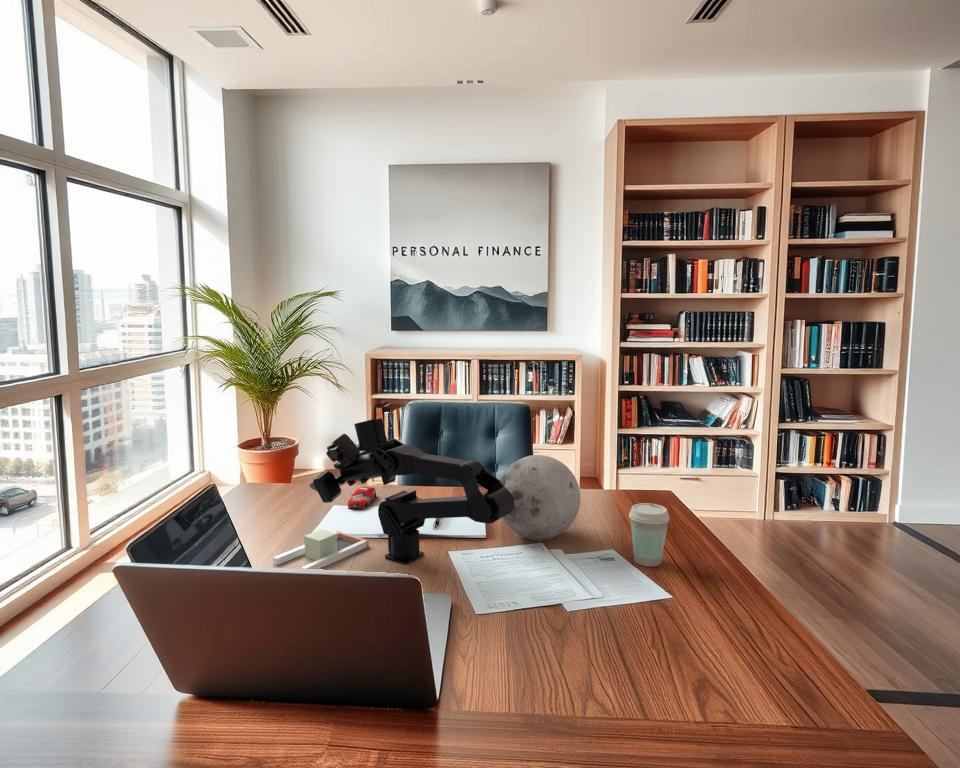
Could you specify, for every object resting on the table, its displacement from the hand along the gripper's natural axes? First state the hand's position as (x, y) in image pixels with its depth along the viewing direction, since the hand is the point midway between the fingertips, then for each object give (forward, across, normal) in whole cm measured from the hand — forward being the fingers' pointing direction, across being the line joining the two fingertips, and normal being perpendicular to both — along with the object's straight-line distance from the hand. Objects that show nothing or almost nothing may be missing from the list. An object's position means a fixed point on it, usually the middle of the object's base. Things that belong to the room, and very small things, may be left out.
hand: (322, 476), depth 155 cm
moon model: (-38, -17, +34) cm, 54 cm away
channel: (-4, +14, +13) cm, 20 cm away
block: (-4, +14, +13) cm, 20 cm away
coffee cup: (-64, -15, +42) cm, 78 cm away
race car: (+13, -19, +18) cm, 29 cm away
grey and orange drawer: (-4, +8, +15) cm, 18 cm away
